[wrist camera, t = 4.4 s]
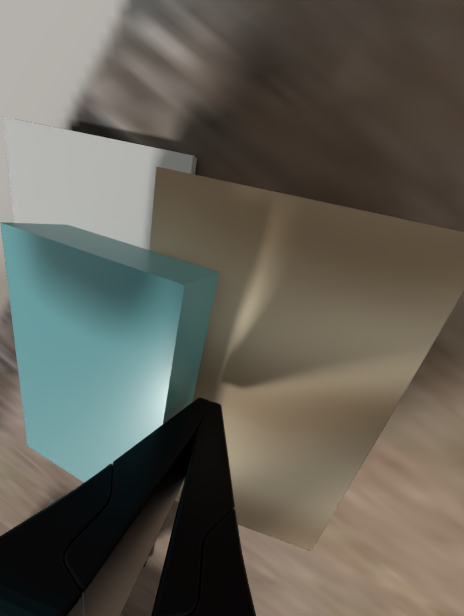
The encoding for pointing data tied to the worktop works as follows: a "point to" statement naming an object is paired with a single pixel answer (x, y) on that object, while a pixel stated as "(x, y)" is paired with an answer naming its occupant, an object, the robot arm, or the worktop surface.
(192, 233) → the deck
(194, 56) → the worktop surface
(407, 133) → the worktop surface
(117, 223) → the mat
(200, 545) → the robot arm
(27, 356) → the teal rectangular block
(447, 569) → the worktop surface
